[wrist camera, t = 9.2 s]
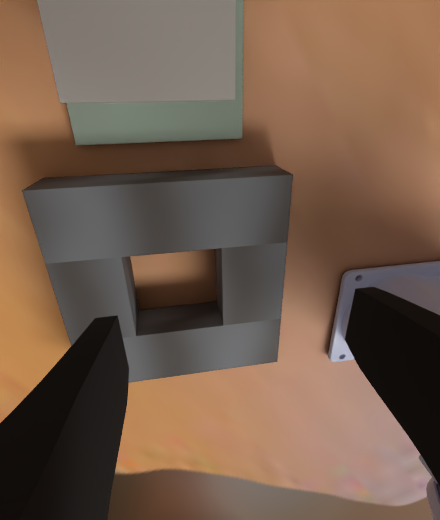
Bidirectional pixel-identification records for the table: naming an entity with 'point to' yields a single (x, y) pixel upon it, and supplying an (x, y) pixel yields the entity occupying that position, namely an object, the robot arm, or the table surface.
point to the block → (141, 50)
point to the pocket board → (168, 241)
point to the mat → (163, 114)
